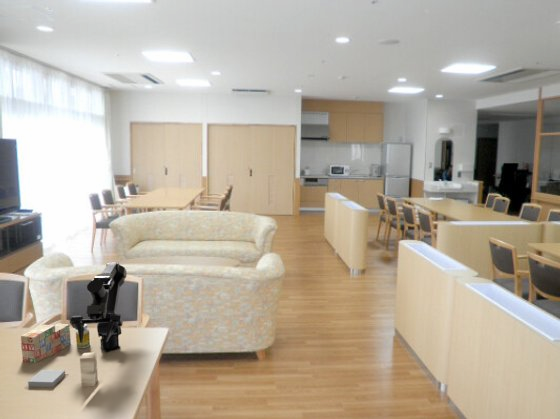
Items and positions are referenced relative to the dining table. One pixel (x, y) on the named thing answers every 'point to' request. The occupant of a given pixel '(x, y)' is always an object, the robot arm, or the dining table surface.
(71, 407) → the dining table surface
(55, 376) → the slate slab
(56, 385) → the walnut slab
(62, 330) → the stack of blocks
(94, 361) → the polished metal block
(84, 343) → the supplement bottle
